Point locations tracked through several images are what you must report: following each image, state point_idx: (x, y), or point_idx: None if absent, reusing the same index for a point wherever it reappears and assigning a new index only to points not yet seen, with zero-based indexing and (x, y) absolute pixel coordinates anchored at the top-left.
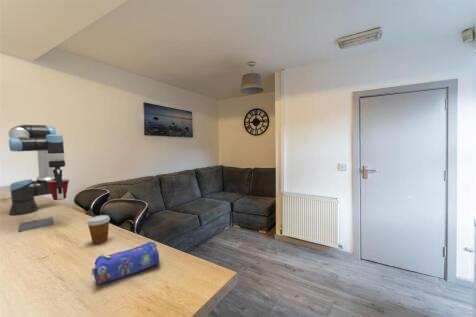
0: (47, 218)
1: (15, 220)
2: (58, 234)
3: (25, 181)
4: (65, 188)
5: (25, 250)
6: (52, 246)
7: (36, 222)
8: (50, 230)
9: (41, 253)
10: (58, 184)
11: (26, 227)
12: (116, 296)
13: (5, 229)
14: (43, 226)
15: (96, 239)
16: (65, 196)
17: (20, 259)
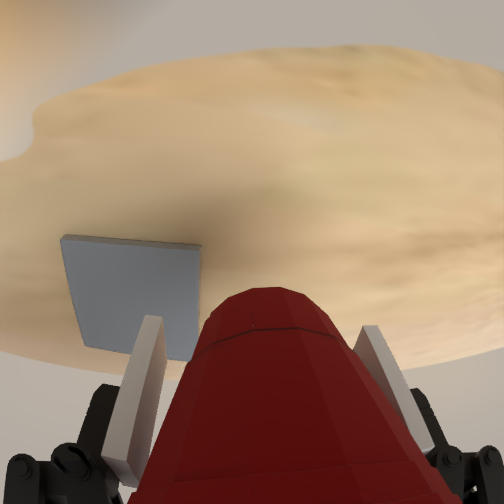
0: (78, 263)
1: (17, 336)
2: (403, 253)
3: None
4: (392, 411)
5: (438, 335)
6: (483, 282)
7: (122, 308)
8: (306, 270)
9: (492, 304)
10: (477, 501)
11: (182, 342)
12: None
13: (118, 373)
14: (199, 287)
15: None
16: (320, 311)
17: (475, 337)
